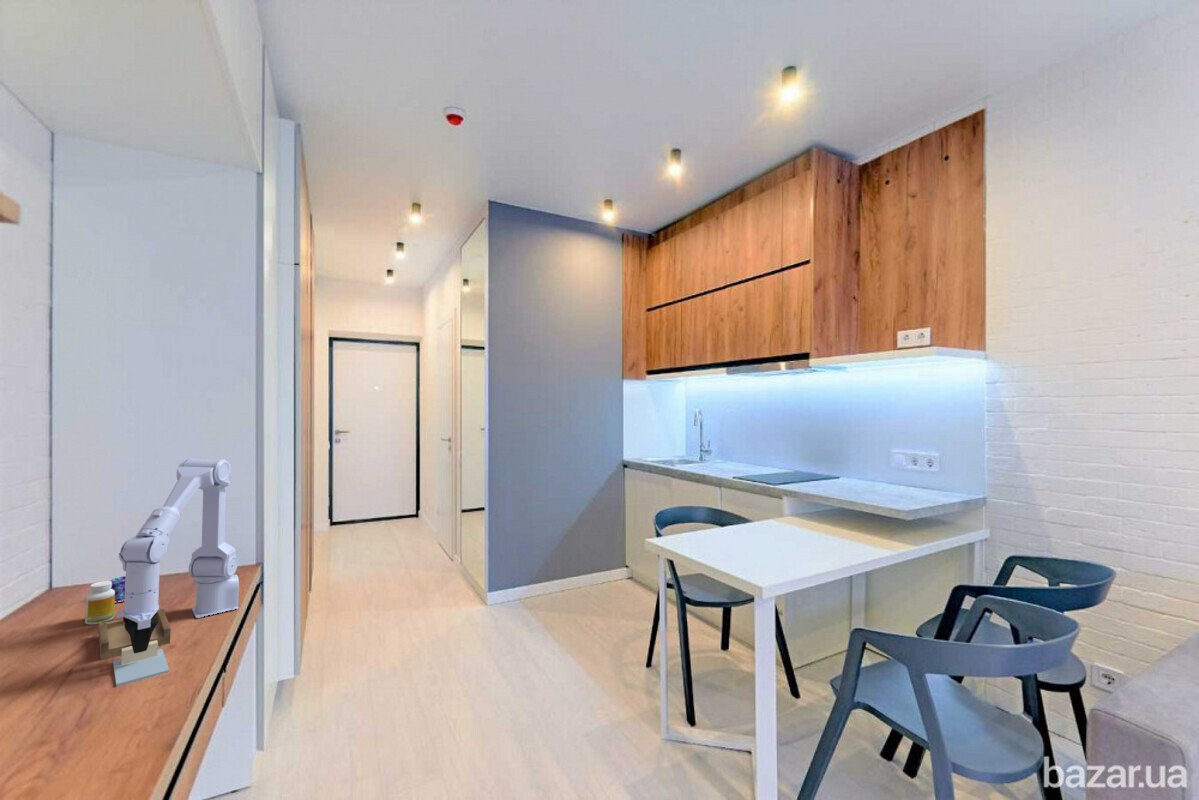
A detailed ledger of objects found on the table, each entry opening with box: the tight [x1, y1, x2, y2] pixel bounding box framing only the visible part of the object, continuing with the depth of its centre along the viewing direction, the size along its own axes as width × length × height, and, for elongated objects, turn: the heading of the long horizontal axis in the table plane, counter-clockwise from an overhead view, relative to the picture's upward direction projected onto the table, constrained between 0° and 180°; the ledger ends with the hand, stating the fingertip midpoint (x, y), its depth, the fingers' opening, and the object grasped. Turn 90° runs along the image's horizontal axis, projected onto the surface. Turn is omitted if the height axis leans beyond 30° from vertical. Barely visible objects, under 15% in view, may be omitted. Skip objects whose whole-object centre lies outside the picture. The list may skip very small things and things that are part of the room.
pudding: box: [110, 575, 126, 603], centre depth 146 cm, size 12×12×5 cm
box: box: [98, 608, 172, 661], centre depth 123 cm, size 12×14×4 cm
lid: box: [112, 640, 170, 688], centre depth 112 cm, size 8×12×4 cm
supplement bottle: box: [84, 580, 116, 626], centre depth 131 cm, size 5×5×10 cm
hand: (139, 648), depth 114 cm, fingers open, 3 cm apart
